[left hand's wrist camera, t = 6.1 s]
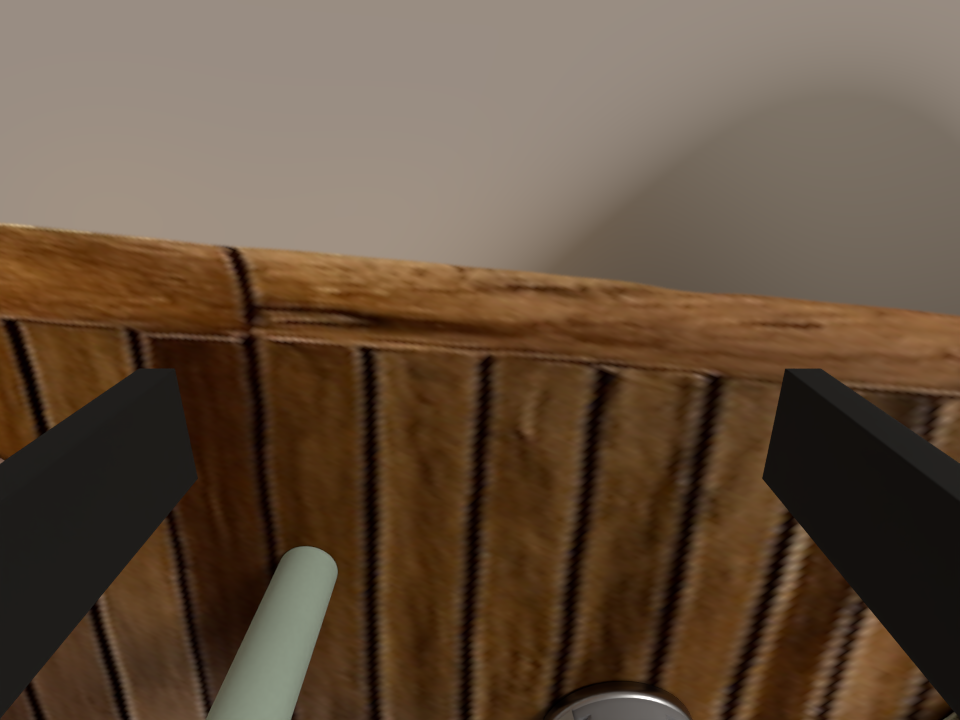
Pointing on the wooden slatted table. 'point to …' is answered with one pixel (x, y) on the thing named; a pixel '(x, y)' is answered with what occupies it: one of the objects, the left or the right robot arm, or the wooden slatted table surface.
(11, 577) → the left robot arm
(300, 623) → the pale green cylinder
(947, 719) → the fossil
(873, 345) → the wooden slatted table surface
